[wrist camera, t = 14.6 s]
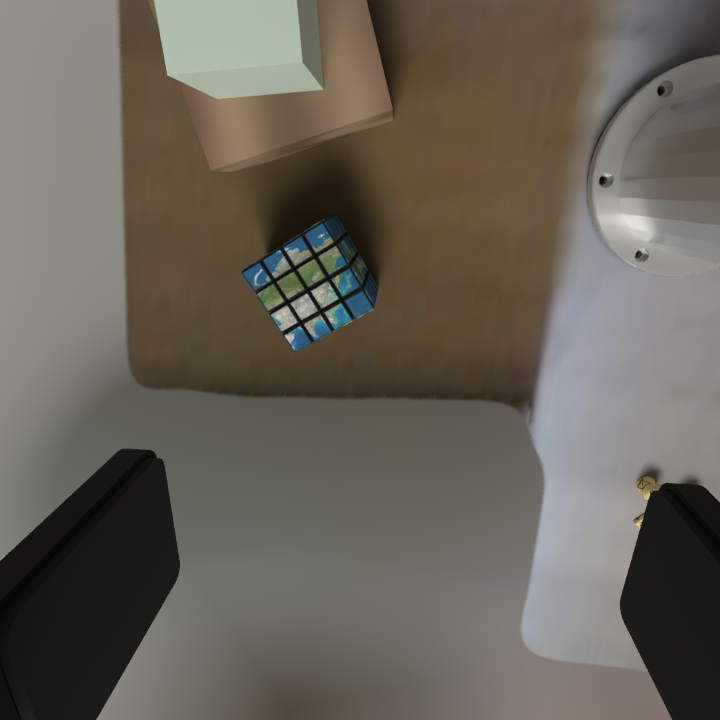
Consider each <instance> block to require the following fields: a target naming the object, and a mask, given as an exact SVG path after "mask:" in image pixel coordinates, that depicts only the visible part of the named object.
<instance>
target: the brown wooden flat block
mask: <svg viewBox="0 0 720 720" xmlns="http://www.w3.org/2000/svg"><path fill="white" fill-rule="evenodd" d="M148 1H149V4H150V7H151V9H152V12H153V15H154V18H155V20H156V23H157V26H158V28H159V25H158V19H157V14H156V8H155V2H154V0H148ZM317 13H318V25H319V38H320V50H321V63H322V75H323V88H324V90H314V91H303V92H292V93H280V94H269V95H258V96H247V97H235V98H224V99H216V98H214V97H212V96H210V95H208V94H206V93H204V92H201V91H199V90H197V89H195V88H193V87H191V86H189V85H187V84H185V83H183V82H181V81H179V80H178V82H179V85H180V88H181V91H182V93H183V96H184V99H185V101H186V104H187V107H188V110H189V112H190V115H191V118H192V120H193V123H194V126H195V128H196V131H197V134H198V137H199V139H200V142H201V145H202V147H203V150H204V153H205V156H206V158H207V161H208V164H209V166H210V169H211V171H221V172H233V173H237V172H240V171H243V170H246V169H249V168H252V167H255V166H258V165H261V164H264V163H267V162H270V161H273V160H276V159H279V158H282V157H285V156H288V155H291V154H294V153H297V152H300V151H303V150H306V149H309V148H312V147H315V146H318V145H321V144H324V143H327V142H330V141H333V140H336V139H339V138H342V137H345V136H348V135H351V134H354V133H357V132H360V131H363V130H366V129H369V128H371V127H374V126H377V125H380V124H383V123H386V122H389V121H392V120H393V108H392V104H391V100H390V96H389V91H388V87H387V83H386V79H385V75H384V71H383V67H382V62H381V58H380V54H379V50H378V46H377V42H376V37H375V33H374V29H373V25H372V21H371V17H370V13H369V8H368V4H367V0H317ZM159 31H160V30H159Z"/></svg>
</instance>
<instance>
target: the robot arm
mask: <svg viewBox="0 0 720 720" xmlns="http://www.w3.org/2000/svg"><path fill="white" fill-rule="evenodd" d="M658 88H660V89H661V94H660V95H658V94H657V89H658ZM601 176H603V178H604V182H603V183H602V184H601V185H600V184H599V179H600V177H601ZM587 197H588V208H589V212H590V216H591V220H592V224H593V226H594V228H595V230H596V232H597V234H598V236H599V238H600V239H601V241H602V242H603V243H604V244H605V245H606V247H607V248H608V249H609V250H610V252H611V253H613V254H614V255H615V256H617V257H618V258H619V259H620V260H622V261H623V262H624V263H627V264H629V265H631V266H633V267H635V268H637V269H639V270H642V271H646V272H649V273H652V274H656V275H663V276H671V277H677V276H693V275H697V274H702V273H706V272H711V271H714V270H716V269H719V268H720V54H718V55H713V56H708V57H703V58H698V59H695V60H692V61H689V62H687V63H684V64H682V65H679V66H677V67H675V68H673V69H671V70H669V71H667V72H664V73H662V74H660V75H658V76H657V77H655V78H654V79H652V80H651V81H650V82H648V83H647V84H645V85H644V86H643V87H641V88H640V89H639V90H637V91H636V92H635V93H634V94H633V95H632V96H631V97H630V98H629V99H628V100H627V101H626V102H625V103H624V104H623V105H622V106H621V107H620V109H619V110H618V111H617V113H616V114H615V115H614V117H613V118H612V119H611V121H610V122H609V123H608V125H607V126H606V128H605V130H604V132H603V134H602V136H601V138H600V140H599V142H598V144H597V146H596V149H595V152H594V155H593V158H592V161H591V164H590V169H589V176H588V183H587ZM637 251H639V255H638V256H637V257H635V254H636V252H637ZM179 569H180V560H179V554H178V547H177V541H176V535H175V529H174V522H173V516H172V510H171V503H170V497H169V491H168V484H167V478H166V472H165V466H164V462H163V460H162V459H160V458H157V456H156V454H155V453H154V452H153V451H151V450H141V449H121V450H120V451H118V452H117V453H116V454H115V455H114V456H113V457H111V458H110V459H109V460H108V461H107V462H106V463H105V464H104V465H103V466H102V467H101V468H100V469H99V470H97V471H96V472H95V473H94V474H93V475H92V476H91V477H90V478H89V479H88V480H87V481H86V482H85V483H84V484H82V486H80V488H78V489H77V490H76V491H75V492H74V493H73V494H72V495H71V496H70V497H69V498H67V499H66V500H65V501H64V502H63V503H62V504H61V505H60V506H59V507H58V508H57V509H56V510H55V511H53V512H52V513H51V514H50V515H49V516H48V517H47V518H46V519H45V520H44V521H43V522H42V523H41V524H40V525H38V526H37V527H36V528H35V529H34V530H33V531H32V532H31V533H30V534H29V535H28V536H27V537H26V538H24V539H23V540H22V541H21V542H20V543H19V544H18V545H17V546H16V547H15V548H14V549H13V550H12V551H11V552H9V553H8V555H6V556H5V557H4V558H3V559H2V560H1V561H0V720H96V719H97V717H98V716H99V714H100V712H101V711H102V709H103V707H104V705H105V703H106V702H107V700H108V698H109V697H110V695H111V693H112V691H113V689H114V688H115V686H116V685H117V683H118V681H119V679H120V678H121V676H122V674H123V672H124V671H125V669H126V667H127V665H128V664H129V662H130V660H131V659H132V657H133V655H134V653H135V652H136V650H137V648H138V646H139V645H140V643H141V641H142V639H143V637H144V636H145V634H146V633H147V631H148V629H149V627H150V626H151V624H152V622H153V620H154V619H155V617H156V615H157V613H158V612H159V610H160V608H161V607H162V604H163V603H164V601H165V600H166V598H167V596H168V594H169V593H170V591H171V589H172V588H173V586H174V584H175V582H176V580H177V577H178V574H179ZM620 610H621V615H622V619H623V621H624V623H625V625H626V627H627V629H628V631H629V633H630V635H631V637H632V639H633V641H634V644H635V646H636V648H637V650H638V652H639V654H640V656H641V658H642V660H643V662H644V664H645V666H646V668H647V670H648V672H649V674H650V676H651V678H652V680H653V682H654V684H655V686H656V688H657V690H658V692H659V694H660V696H661V698H662V700H663V702H664V704H665V706H666V708H667V710H668V712H669V714H670V716H671V718H672V720H720V502H719V501H718V500H717V499H716V498H715V497H714V496H713V495H712V494H711V493H710V492H709V491H708V490H707V489H706V488H704V487H703V486H700V485H691V484H675V483H665V484H663V485H662V486H661V487H660V488H659V490H655V491H653V492H652V493H651V494H650V496H649V499H648V503H647V506H646V510H645V513H644V517H643V521H642V524H641V528H640V531H639V535H638V538H637V542H636V545H635V549H634V552H633V556H632V560H631V563H630V567H629V570H628V574H627V577H626V581H625V584H624V588H623V591H622V595H621V599H620Z"/></svg>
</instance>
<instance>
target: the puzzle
mask: <svg viewBox="0 0 720 720" xmlns="http://www.w3.org/2000/svg"><path fill="white" fill-rule="evenodd" d="M345 234H346V230H345V228H344V226H343V225H342V223H341V221H340V220H339V218H338V216H336V215H333V216H330V217H328V218H326V219H323V220H321V221H320V222H318V223H316V224H315V225H313V226H312V227H310V228H309V229H307V230H305V231H304V232H303V233H301V234H299V235H297V236H296V237H294V238H293V239H291V240H289V241H288V242H286V243H285V244H283V245H282V246H280V247H278V248H277V249H275V250H274V251H272V252H270V253H269V254H267V255H266V256H264V257H262V258H261V259H259V260H258V261H256V262H255V263H253V264H251V265H250V266H248V267H247V268H245V269H243V270H244V271H242V275H243V276H244V278H245V279H246V281H247V282H248V284H249V286H250V287H251V289H252V290H253V291H254V292H256V291H257V290H259V289H260V290H259V291H257V292H256V296H257V298H258V299H259V301H260V302H261V304H262V305H263V307H264V308H265V310H266V311H267V312H270V313H269V315H270V317H271V319H272V320H273V322H274V323H275V325H276V326H277V328H278V329H279V331H280V332H284V333H283V337H284V338H285V340H286V341H287V343H288V344H289V346H290V347H291V349H292V350H293V352H298V351H300V350H301V349H303V348H305V347H307V346H309V345H310V344H312V343H313V341H318V340H319V339H321V338H323V337H325V336H326V335H328V334H330V333H332V332H333V330H337V329H339V328H341V327H343V326H344V325H346V324H348V323H350V322H352V321H353V319H354V318H355V319H356V318H359V317H361V316H362V315H364V314H366V313H368V312H370V311H371V310H373V309H374V306H375V301H376V297H377V292H378V285H377V283H376V282H375V280H374V278H373V277H372V275H371V273H369V272H367V271H368V268H367V266H366V264H365V263H364V261H363V259H362V258H361V256H360V254H358V253H357V249H356V247H355V245H354V244H353V242H352V240H351V239H350V237H349V235H345ZM356 253H357V254H356ZM262 287H263V288H262Z"/></svg>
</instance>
